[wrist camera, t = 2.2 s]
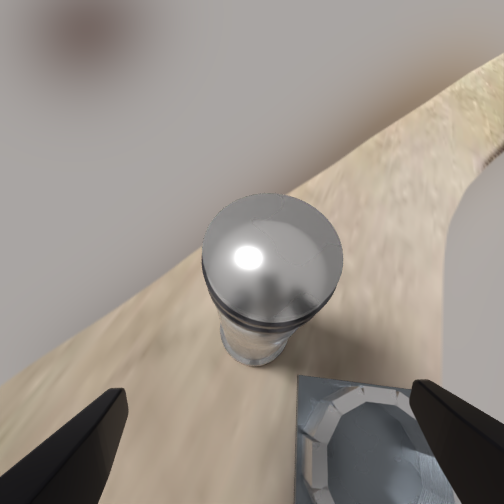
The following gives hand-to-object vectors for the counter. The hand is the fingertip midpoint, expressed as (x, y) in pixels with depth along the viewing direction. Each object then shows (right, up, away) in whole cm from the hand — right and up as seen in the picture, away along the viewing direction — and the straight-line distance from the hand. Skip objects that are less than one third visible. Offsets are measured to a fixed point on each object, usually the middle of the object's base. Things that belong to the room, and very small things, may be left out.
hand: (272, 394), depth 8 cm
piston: (-1, -2, +11) cm, 12 cm away
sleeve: (+6, -9, +8) cm, 13 cm away
